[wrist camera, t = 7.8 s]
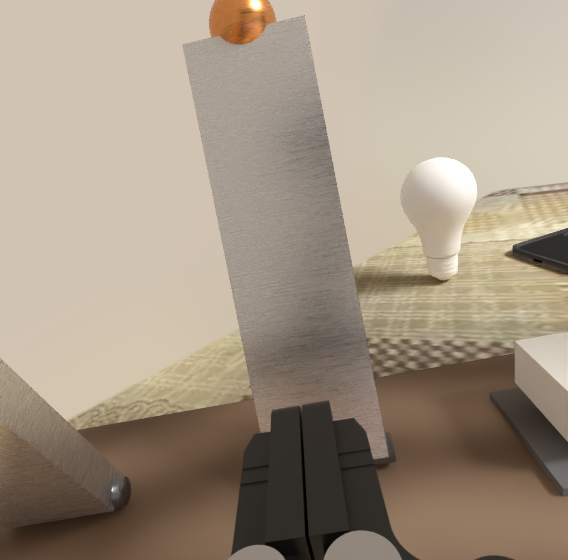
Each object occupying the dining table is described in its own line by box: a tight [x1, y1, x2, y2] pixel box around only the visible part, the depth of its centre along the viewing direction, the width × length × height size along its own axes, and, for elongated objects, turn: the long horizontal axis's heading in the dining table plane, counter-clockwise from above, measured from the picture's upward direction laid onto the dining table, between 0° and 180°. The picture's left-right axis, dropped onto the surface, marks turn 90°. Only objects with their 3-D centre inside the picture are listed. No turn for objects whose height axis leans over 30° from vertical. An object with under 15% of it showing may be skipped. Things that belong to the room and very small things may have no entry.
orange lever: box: [183, 0, 396, 465], centre depth 17 cm, size 3×6×21 cm, turn 91°
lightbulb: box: [401, 158, 477, 280], centre depth 36 cm, size 6×6×11 cm
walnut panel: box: [0, 354, 568, 560], centre depth 18 cm, size 12×32×2 cm, turn 91°
